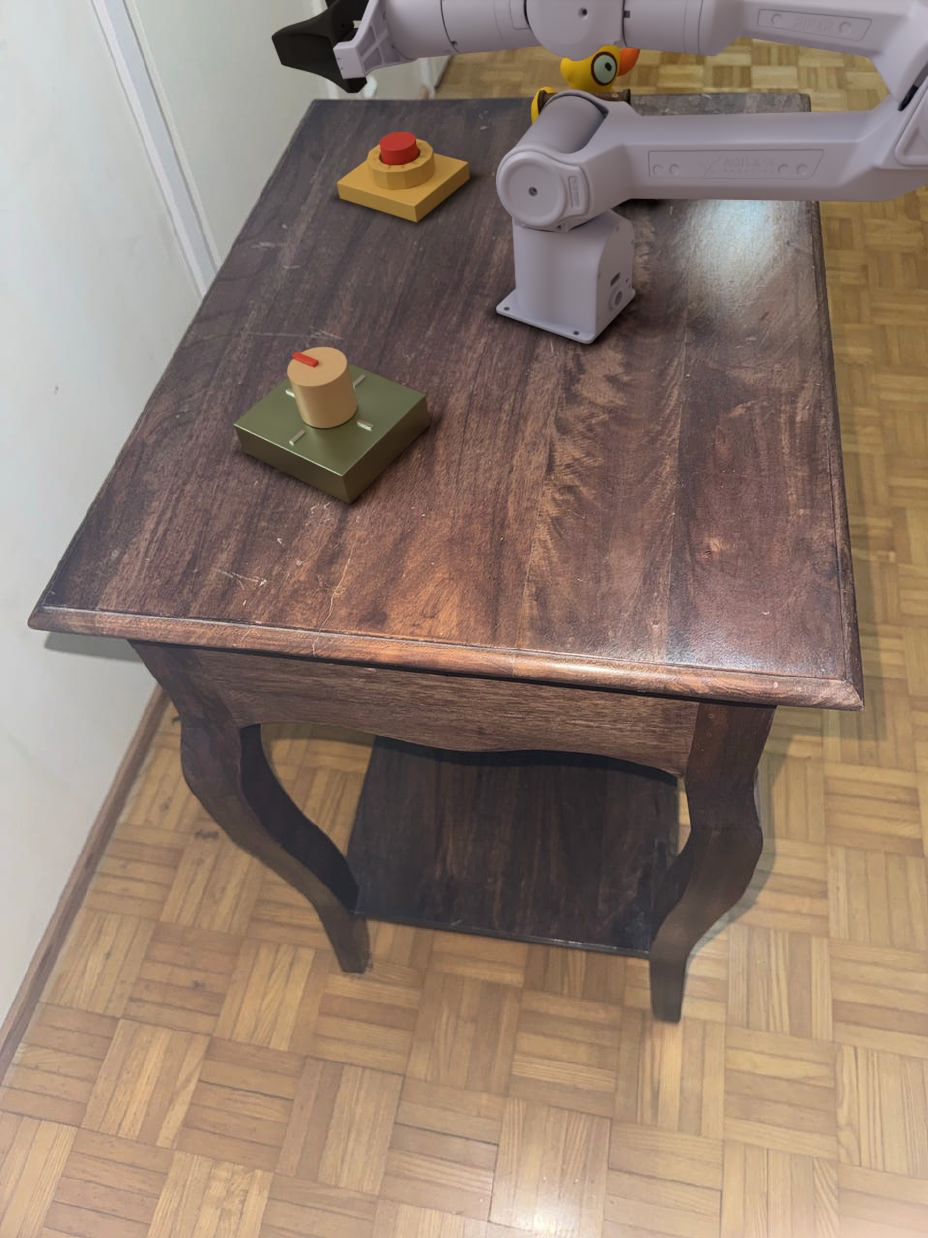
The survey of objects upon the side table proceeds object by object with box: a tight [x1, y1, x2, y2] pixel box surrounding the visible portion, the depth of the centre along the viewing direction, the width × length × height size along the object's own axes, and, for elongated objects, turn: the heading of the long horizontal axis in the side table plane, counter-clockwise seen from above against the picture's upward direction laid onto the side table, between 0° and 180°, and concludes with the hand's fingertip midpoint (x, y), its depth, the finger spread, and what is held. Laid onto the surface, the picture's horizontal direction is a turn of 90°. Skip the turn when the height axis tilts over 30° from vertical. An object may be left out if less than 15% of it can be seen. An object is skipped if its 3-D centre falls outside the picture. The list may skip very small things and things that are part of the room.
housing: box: [336, 138, 471, 223], centre depth 91 cm, size 10×9×4 cm
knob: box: [286, 346, 357, 428], centre depth 67 cm, size 4×4×4 cm
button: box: [379, 131, 418, 166], centre depth 89 cm, size 4×4×2 cm
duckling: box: [530, 45, 642, 125], centre depth 90 cm, size 11×5×10 cm, turn 110°
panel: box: [233, 362, 431, 505], centre depth 70 cm, size 11×10×3 cm
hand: (303, 24), depth 69 cm, fingers open, 7 cm apart
